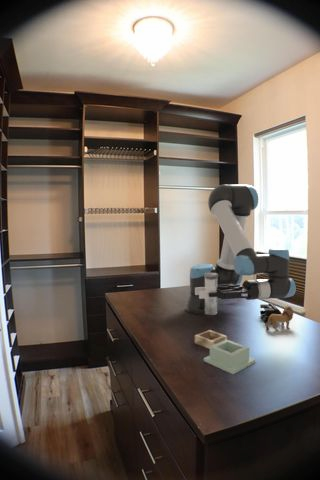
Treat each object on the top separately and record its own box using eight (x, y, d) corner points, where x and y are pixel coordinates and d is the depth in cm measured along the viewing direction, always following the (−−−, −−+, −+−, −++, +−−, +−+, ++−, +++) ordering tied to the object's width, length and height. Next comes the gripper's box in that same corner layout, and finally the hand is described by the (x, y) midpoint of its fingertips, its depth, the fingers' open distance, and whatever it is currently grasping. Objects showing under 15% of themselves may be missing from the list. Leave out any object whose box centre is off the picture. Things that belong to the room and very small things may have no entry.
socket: (203, 361, 107) (203, 346, 106) (226, 350, 115) (226, 337, 114) (233, 374, 98) (233, 358, 97) (255, 362, 106) (255, 347, 105)
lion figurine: (286, 323, 141) (286, 304, 141) (296, 327, 137) (296, 307, 136) (261, 329, 135) (262, 309, 134) (271, 334, 130) (271, 312, 129)
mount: (194, 342, 122) (194, 335, 122) (209, 337, 127) (209, 329, 127) (212, 350, 115) (212, 342, 115) (226, 343, 121) (226, 335, 121)
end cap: (281, 323, 142) (282, 308, 141) (265, 323, 142) (266, 308, 142) (274, 316, 152) (275, 302, 151) (259, 316, 152) (260, 302, 152)
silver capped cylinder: (201, 312, 121) (201, 273, 119) (210, 310, 124) (210, 272, 123) (211, 316, 117) (211, 275, 115) (220, 313, 120) (221, 274, 119)
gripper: (266, 305, 114) (204, 309, 110) (245, 293, 132) (190, 296, 128) (267, 285, 114) (204, 288, 110) (245, 275, 131) (190, 278, 127)
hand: (197, 293), depth 119 cm, fingers closed on silver capped cylinder, 5 cm apart
